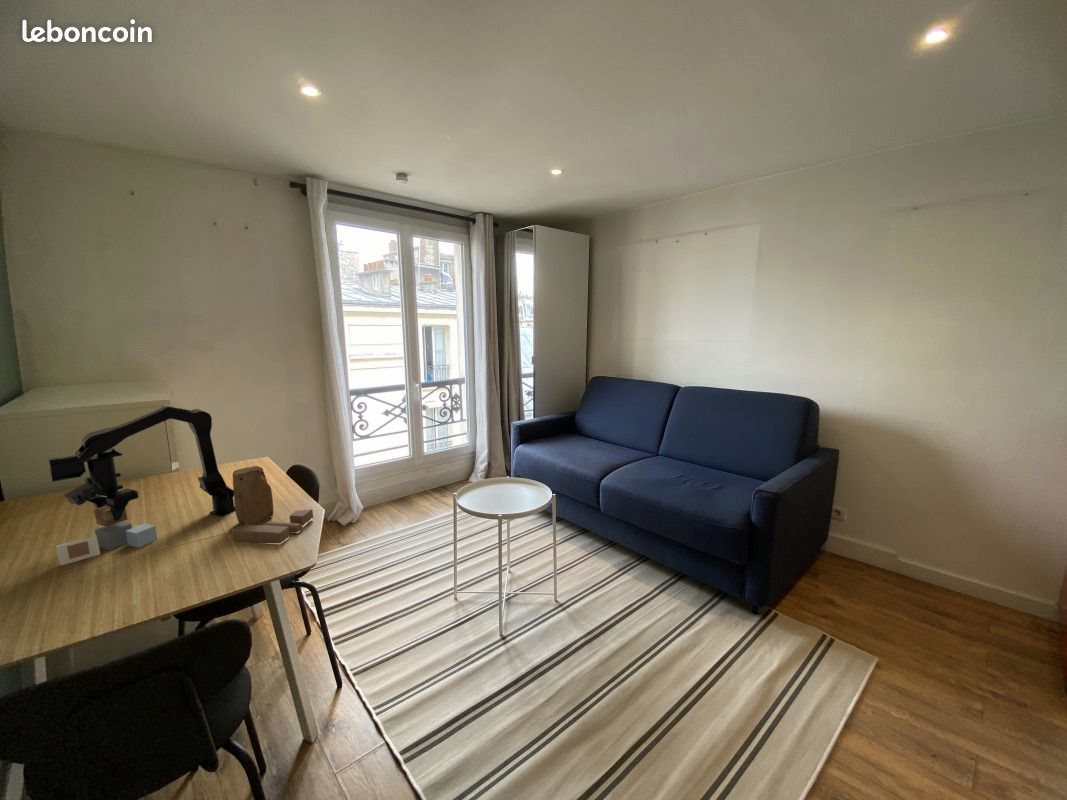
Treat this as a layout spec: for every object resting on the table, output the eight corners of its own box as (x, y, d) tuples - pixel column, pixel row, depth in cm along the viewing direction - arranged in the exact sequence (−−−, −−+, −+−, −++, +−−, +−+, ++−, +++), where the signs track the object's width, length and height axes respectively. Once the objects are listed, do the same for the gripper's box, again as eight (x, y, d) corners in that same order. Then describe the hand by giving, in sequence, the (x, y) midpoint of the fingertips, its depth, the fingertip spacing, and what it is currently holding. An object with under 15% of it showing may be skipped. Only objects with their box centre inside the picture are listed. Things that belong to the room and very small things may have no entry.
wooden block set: (281, 530, 128) (229, 527, 130) (283, 546, 129) (232, 543, 131) (315, 507, 145) (268, 504, 146) (316, 521, 146) (270, 518, 148)
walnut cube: (127, 519, 129) (124, 504, 128) (107, 526, 124) (104, 511, 123) (116, 517, 130) (114, 502, 129) (96, 524, 125) (93, 509, 124)
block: (239, 529, 138) (232, 475, 135) (236, 522, 144) (229, 469, 140) (276, 519, 146) (270, 467, 142) (271, 512, 151) (265, 462, 147)
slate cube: (157, 539, 131) (154, 525, 130) (138, 547, 126) (136, 533, 125) (146, 537, 132) (144, 523, 132) (127, 545, 128) (125, 530, 127)
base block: (134, 540, 130) (131, 523, 129) (110, 550, 125) (107, 532, 124) (121, 537, 132) (118, 520, 131) (98, 547, 126) (94, 529, 125)
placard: (60, 564, 117) (56, 545, 116) (100, 553, 123) (96, 535, 122) (60, 566, 116) (55, 547, 115) (100, 554, 122) (96, 536, 121)
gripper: (46, 477, 119) (57, 526, 122) (88, 485, 114) (98, 536, 117) (95, 465, 129) (104, 510, 132) (135, 472, 124) (144, 518, 127)
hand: (111, 518), depth 127 cm, fingers closed on walnut cube, 5 cm apart
